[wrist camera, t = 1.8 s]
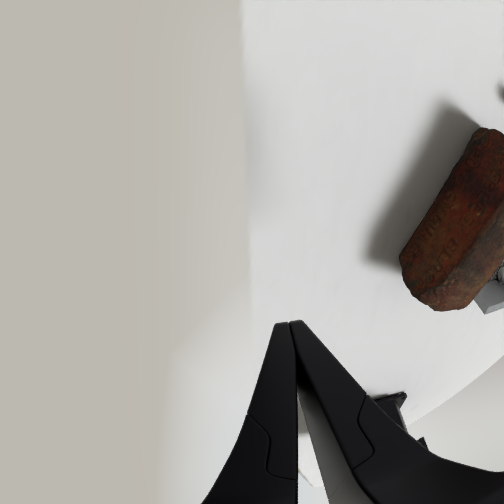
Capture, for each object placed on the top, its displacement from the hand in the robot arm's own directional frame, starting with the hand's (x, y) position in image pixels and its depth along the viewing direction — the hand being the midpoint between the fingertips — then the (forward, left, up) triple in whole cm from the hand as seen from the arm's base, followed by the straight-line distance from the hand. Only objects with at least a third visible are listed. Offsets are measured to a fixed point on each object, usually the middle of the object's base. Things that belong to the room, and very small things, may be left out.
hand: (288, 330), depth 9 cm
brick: (0, -12, -8) cm, 14 cm away
